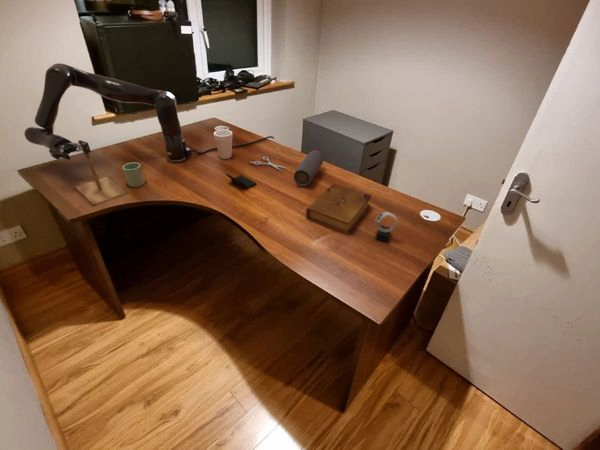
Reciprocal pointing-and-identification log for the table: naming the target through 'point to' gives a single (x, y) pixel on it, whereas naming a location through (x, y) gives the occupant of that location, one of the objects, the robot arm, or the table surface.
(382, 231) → the watch
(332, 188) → the diary
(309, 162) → the bluetooth speaker
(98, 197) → the mat
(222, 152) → the foam cup
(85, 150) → the brush
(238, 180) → the dark angular piece
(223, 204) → the table surface
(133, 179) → the brush pot
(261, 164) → the scissors
